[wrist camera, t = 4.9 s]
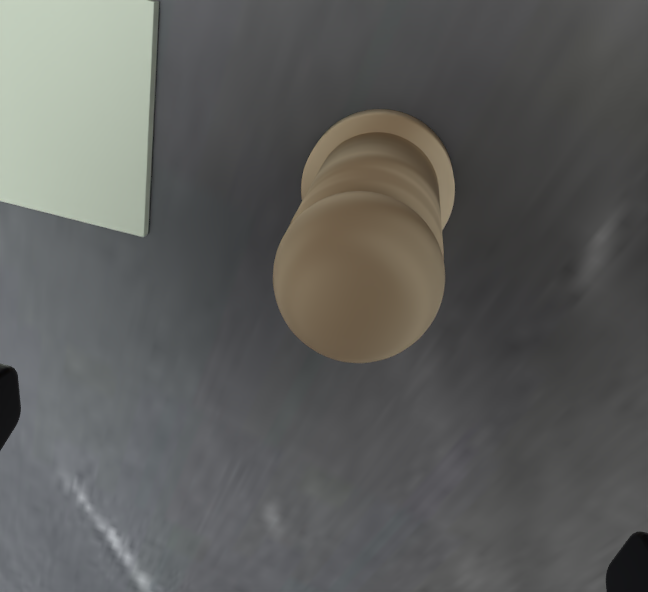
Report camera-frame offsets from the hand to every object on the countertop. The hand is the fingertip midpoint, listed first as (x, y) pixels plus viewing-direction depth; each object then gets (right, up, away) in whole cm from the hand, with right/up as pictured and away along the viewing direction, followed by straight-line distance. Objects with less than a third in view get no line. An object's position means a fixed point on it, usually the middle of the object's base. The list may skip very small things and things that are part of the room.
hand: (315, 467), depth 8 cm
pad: (-10, +9, +12) cm, 18 cm away
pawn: (+2, +6, +11) cm, 13 cm away
